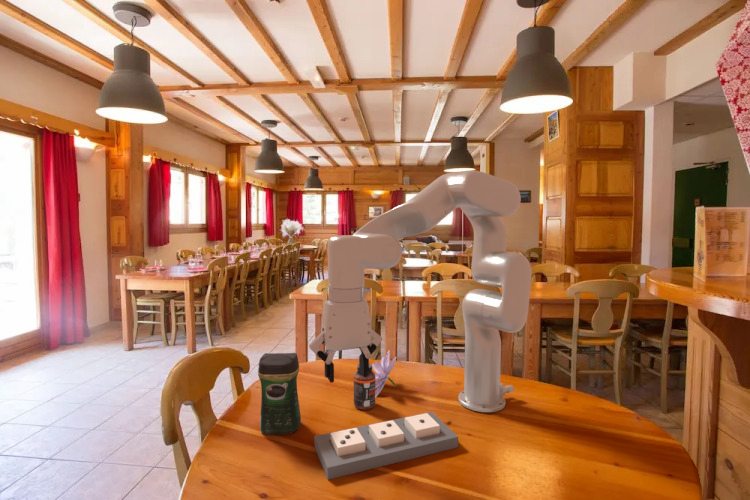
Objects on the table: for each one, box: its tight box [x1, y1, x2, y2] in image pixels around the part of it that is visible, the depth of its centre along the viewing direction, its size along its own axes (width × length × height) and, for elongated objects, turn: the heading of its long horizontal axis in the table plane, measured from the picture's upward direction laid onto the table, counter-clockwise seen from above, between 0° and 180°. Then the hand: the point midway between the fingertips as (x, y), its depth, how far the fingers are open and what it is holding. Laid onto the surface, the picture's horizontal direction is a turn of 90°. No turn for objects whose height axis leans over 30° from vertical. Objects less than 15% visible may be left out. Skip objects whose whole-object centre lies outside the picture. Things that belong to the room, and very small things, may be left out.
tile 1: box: [405, 412, 440, 439], centre depth 91 cm, size 6×6×3 cm
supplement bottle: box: [353, 363, 376, 411], centre depth 107 cm, size 6×6×11 cm
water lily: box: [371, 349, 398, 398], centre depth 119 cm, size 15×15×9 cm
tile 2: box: [368, 419, 404, 447], centre depth 88 cm, size 6×6×3 cm
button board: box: [313, 411, 459, 481], centre depth 88 cm, size 30×12×2 cm, turn 111°
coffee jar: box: [257, 352, 302, 435], centre depth 96 cm, size 10×8×19 cm
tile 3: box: [330, 427, 365, 457], centre depth 85 cm, size 6×6×3 cm
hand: (347, 376), depth 84 cm, fingers open, 6 cm apart
